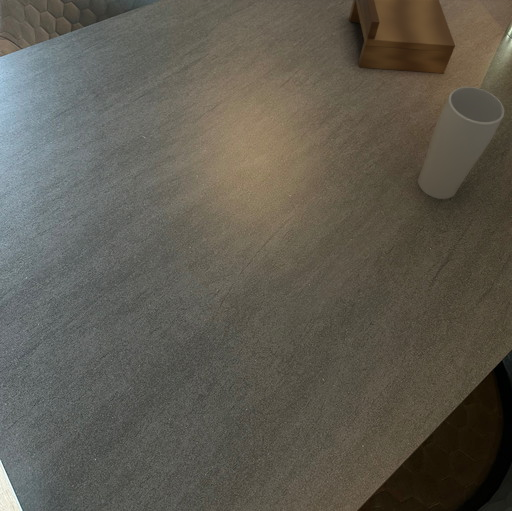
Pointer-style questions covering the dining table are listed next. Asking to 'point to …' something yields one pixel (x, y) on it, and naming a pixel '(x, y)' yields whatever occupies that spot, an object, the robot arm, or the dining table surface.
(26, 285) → the dining table surface
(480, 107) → the drinking glass
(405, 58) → the tan wooden box
